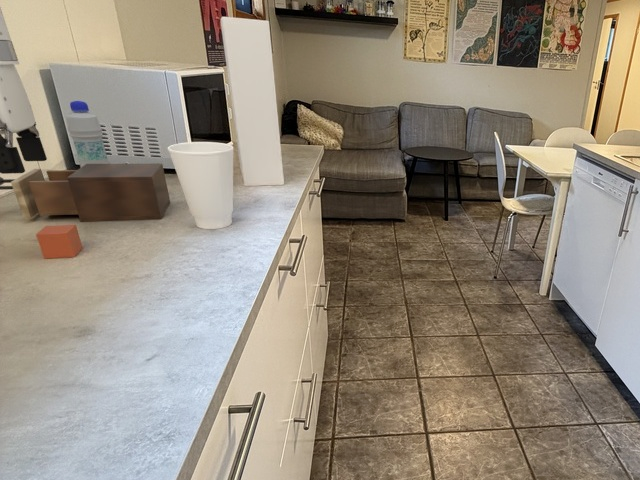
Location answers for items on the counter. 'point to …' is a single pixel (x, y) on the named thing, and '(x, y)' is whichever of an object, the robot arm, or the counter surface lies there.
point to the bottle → (86, 135)
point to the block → (59, 241)
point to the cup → (206, 181)
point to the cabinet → (119, 192)
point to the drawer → (43, 193)
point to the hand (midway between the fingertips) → (25, 166)
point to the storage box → (253, 99)
